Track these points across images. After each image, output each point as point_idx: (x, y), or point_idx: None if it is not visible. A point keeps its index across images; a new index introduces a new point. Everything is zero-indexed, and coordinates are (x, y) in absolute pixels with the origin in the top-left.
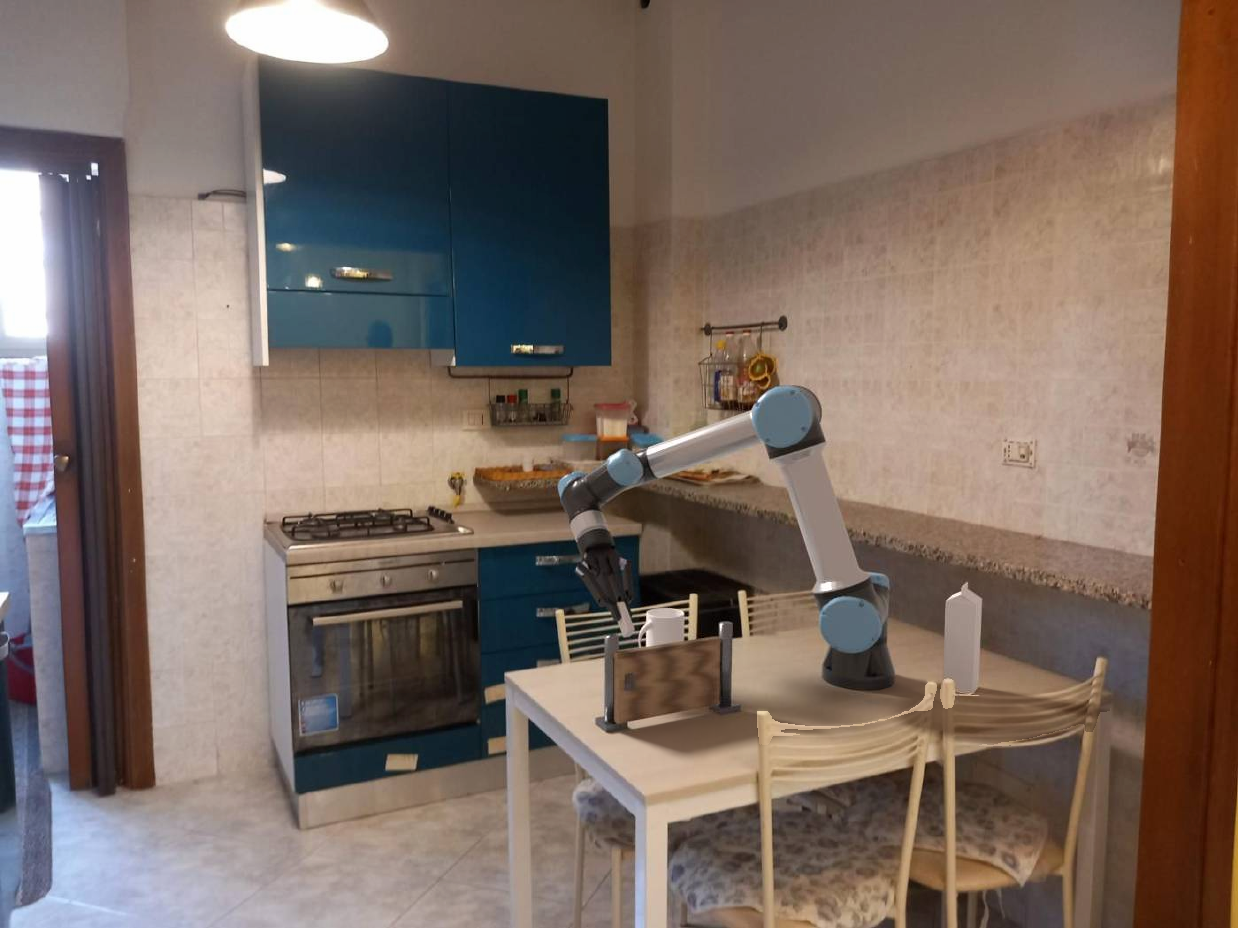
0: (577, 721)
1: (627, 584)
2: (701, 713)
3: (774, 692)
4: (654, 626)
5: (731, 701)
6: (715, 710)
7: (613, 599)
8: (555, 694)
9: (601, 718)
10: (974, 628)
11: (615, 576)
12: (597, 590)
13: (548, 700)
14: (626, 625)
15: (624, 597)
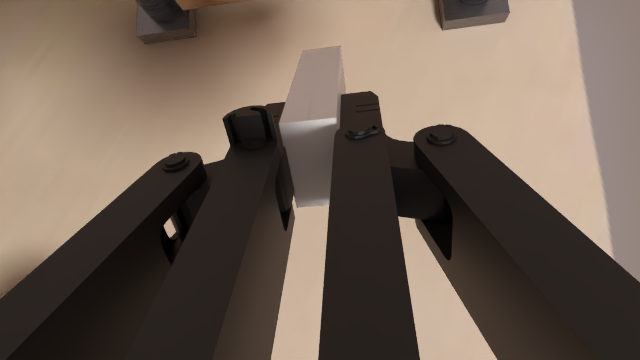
0: (545, 52)
1: (126, 249)
2: (231, 8)
3: (10, 73)
4: None
5: (143, 12)
6: (195, 9)
7: (363, 130)
8: None
9: (495, 3)
10: None
11: (197, 331)
12: (521, 182)
13: (586, 233)
14: (339, 55)
15: (267, 113)
